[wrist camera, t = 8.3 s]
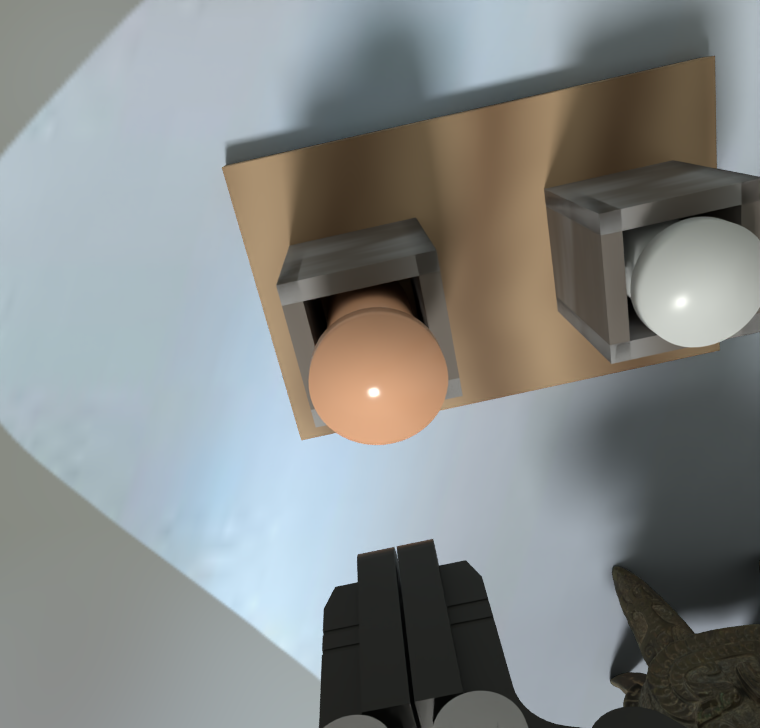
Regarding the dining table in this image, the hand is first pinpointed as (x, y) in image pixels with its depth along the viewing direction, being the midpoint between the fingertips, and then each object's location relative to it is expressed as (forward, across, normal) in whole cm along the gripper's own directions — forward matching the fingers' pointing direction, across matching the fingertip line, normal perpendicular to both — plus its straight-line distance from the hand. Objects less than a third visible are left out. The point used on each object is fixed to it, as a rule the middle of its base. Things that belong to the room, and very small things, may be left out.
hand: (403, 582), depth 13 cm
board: (+22, -6, 0) cm, 22 cm away
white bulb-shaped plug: (+20, -12, 0) cm, 23 cm away
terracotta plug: (+18, 0, 0) cm, 18 cm away
